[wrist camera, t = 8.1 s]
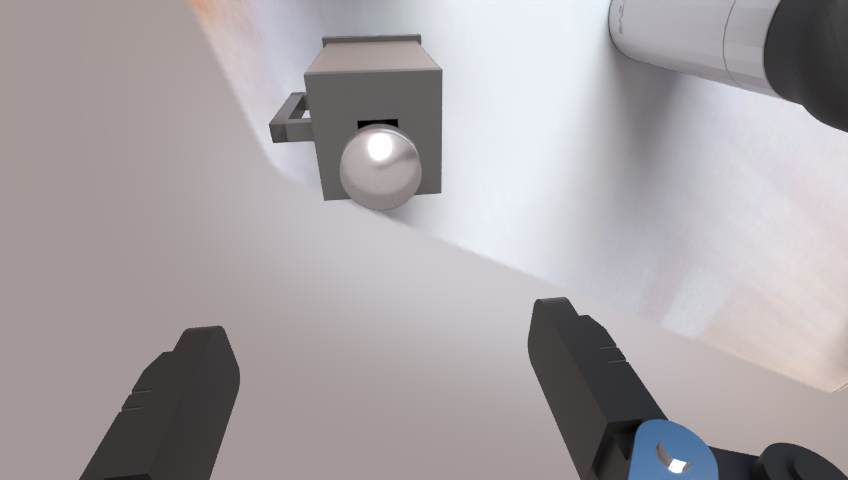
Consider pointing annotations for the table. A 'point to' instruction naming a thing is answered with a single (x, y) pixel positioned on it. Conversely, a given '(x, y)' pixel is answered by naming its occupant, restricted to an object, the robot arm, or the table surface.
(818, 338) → the table surface
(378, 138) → the plunger
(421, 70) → the gray handled box
